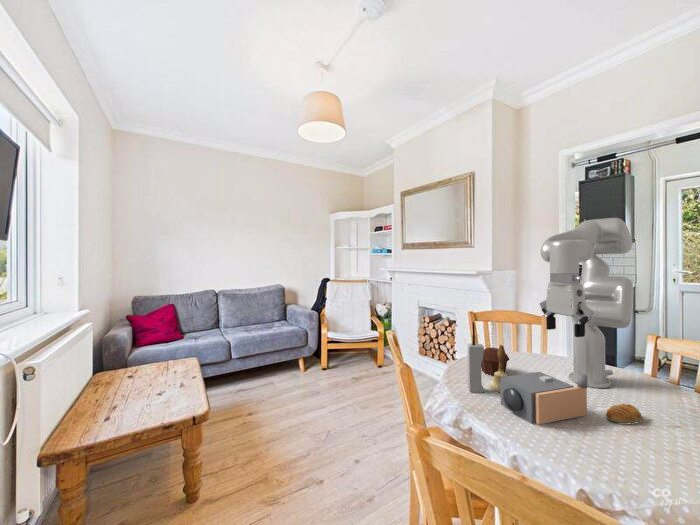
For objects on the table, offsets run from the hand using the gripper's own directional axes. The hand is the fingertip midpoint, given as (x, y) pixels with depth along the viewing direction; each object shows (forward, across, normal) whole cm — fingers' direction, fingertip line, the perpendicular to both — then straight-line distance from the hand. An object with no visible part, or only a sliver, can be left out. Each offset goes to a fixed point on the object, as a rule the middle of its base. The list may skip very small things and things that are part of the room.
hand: (564, 332), depth 94 cm
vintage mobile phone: (+24, +18, +19) cm, 36 cm away
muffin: (+24, +31, +1) cm, 39 cm away
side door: (+24, -5, +8) cm, 25 cm away
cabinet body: (+24, +2, +10) cm, 26 cm away
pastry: (+25, -10, -10) cm, 28 cm away
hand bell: (+24, +18, +9) cm, 31 cm away
